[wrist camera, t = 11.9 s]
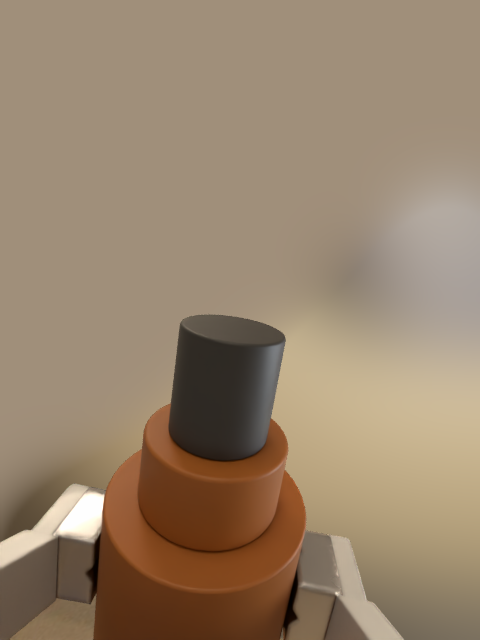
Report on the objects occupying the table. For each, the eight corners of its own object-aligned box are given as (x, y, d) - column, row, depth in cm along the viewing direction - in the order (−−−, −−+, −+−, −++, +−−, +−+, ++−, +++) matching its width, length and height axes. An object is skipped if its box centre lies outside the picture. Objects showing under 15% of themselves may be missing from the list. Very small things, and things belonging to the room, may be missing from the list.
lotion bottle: (68, 1016, 7) (114, 371, 4) (86, 729, 11) (116, 296, 8) (256, 898, 9) (403, 372, 6) (212, 685, 13) (281, 309, 10)
